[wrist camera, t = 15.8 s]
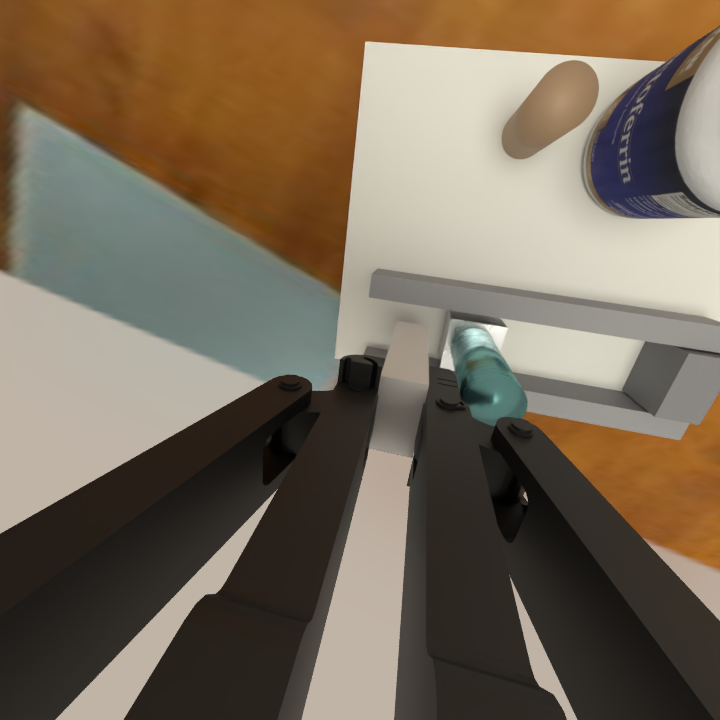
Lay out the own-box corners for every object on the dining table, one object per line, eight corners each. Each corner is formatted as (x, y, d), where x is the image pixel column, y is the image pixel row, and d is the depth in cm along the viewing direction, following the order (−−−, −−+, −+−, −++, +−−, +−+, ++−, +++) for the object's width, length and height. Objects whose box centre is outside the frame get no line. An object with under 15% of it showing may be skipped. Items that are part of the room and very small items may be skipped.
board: (338, 351, 23) (310, 393, 17) (369, 53, 17) (340, -35, 11) (656, 409, 21) (745, 479, 15) (830, 86, 14) (1096, -4, 9)
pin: (437, 353, 20) (445, 430, 13) (448, 307, 19) (463, 362, 12) (485, 361, 20) (522, 445, 12) (498, 315, 19) (548, 377, 11)
